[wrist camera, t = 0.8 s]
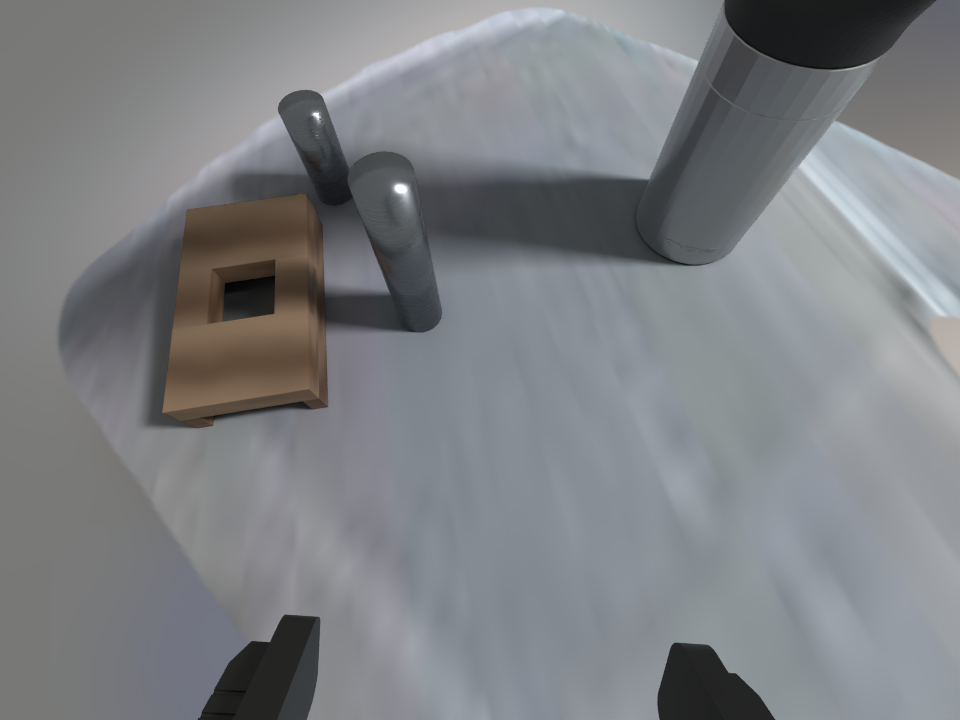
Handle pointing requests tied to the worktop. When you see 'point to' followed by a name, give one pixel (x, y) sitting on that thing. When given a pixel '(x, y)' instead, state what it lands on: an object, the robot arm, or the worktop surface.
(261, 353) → the plate
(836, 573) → the worktop surface
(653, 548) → the worktop surface
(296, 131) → the short pin
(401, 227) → the long pin
